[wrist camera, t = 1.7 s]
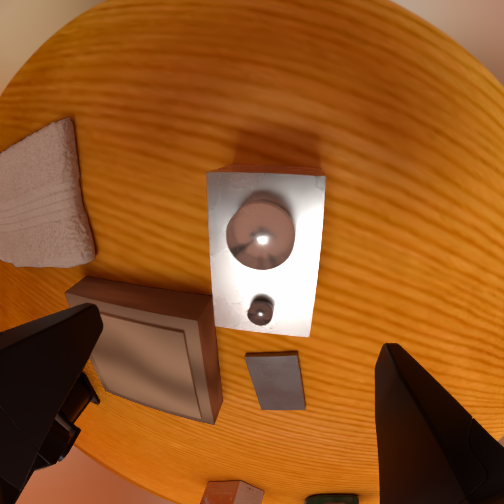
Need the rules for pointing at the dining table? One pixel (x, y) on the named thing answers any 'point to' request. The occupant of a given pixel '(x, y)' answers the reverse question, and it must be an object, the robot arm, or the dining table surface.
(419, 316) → the dining table surface
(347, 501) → the coffee jar
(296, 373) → the cover plate
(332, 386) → the dining table surface
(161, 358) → the tray
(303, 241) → the housing
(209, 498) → the small box
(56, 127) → the washcloth
